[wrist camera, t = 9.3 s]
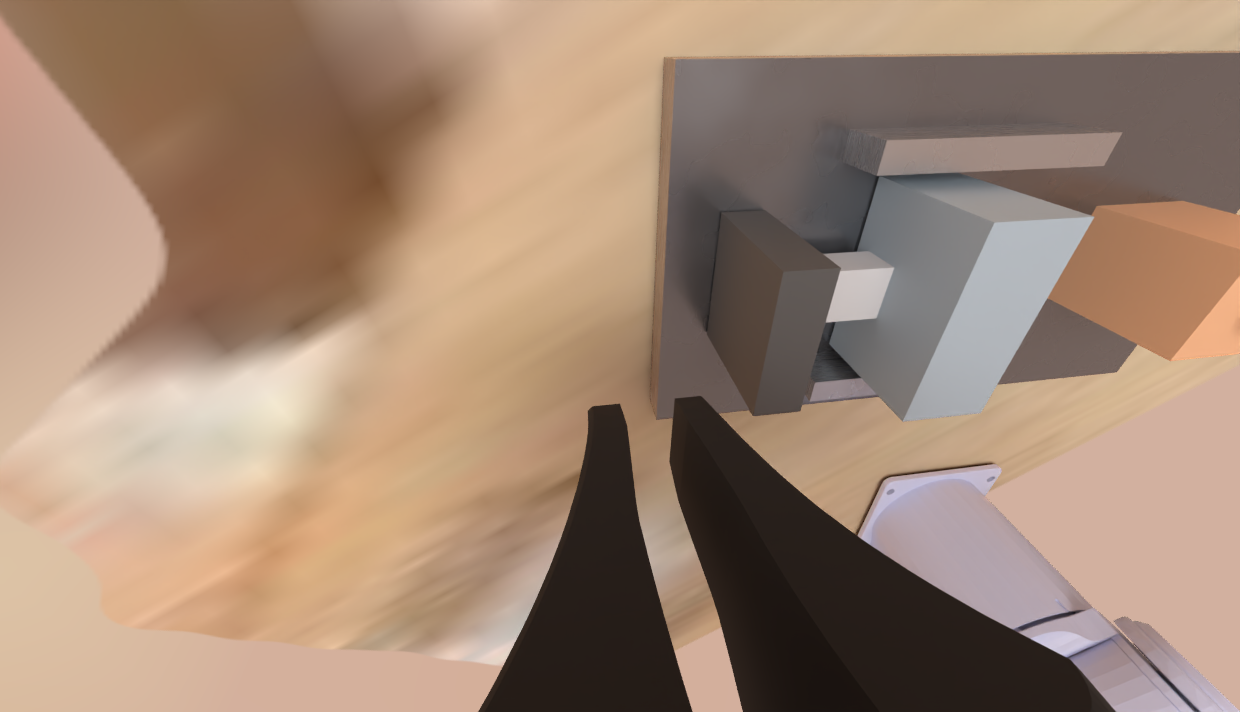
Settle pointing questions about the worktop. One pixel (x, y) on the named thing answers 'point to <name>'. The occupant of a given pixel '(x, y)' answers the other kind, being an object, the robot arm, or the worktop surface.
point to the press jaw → (892, 294)
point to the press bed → (920, 172)
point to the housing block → (1159, 277)
